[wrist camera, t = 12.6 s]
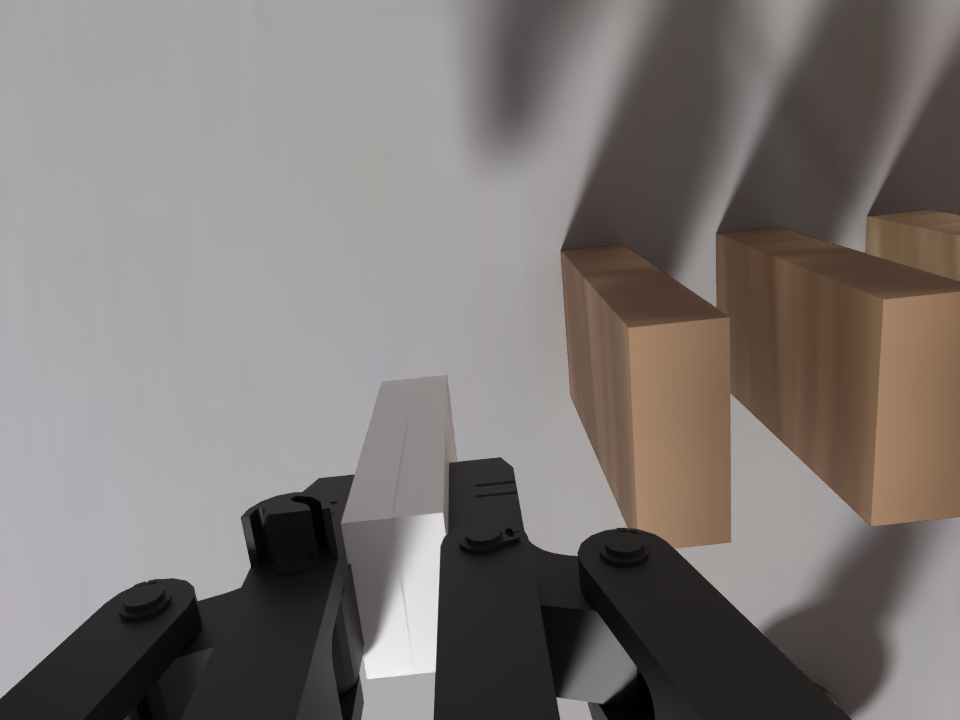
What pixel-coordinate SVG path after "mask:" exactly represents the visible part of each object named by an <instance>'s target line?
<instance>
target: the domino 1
mask: <svg viewBox="0 0 960 720" xmlns="http://www.w3.org/2000/svg"><path fill="white" fill-rule="evenodd" d="M561 264H562V278H563V293H564V307H565V322H566V336H567V351H568V365H569V380H570V395H571V399H572V401H573V403H574V406H575V408H576V410H577V412H578V415H579V417H580V419H581V422H582V424H583V426H584V428H585V431H586V433H587V435H588V438H589V440H590V442H591V445H592V447H593V449H594V451H595V454H596V456H597V458H598V461H599V463H600V465H601V468H602V470H603V472H604V474H605V477H606V479H607V481H608V484H609V486H610V488H611V490H612V493H613V495H614V497H615V500H616V502H617V504H618V507H619V509H620V511H621V513H622V516H623V518H624V520H625V523H626V525H627V527H628V529H630V528H633V529H639V530H643V531H646V532H649V533H653V534H656V535H657V536H659V537H660V538H662V539H664V540H665V541H667V542H668V543H669V544H670V545H671V546H672V547H673V548H683V547H692V546H702V545H711V544H721V543H730V542H731V457H730V317H729V316H727V315H726V314H724V313H723V312H722V311H720V310H719V309H717V308H716V307H714V306H713V305H711V304H710V303H708V302H707V301H705V300H704V299H702V298H701V297H700V296H698V295H697V294H695V293H694V292H692V291H691V290H689V289H688V288H686V287H685V286H683V285H682V284H680V283H679V282H678V281H676V280H675V279H673V278H672V277H670V276H669V275H667V274H666V273H664V272H663V271H661V270H660V269H658V268H657V267H655V266H654V265H653V264H651V263H650V262H648V261H647V260H645V259H644V258H642V257H641V256H639V255H638V254H636V253H635V252H633V251H632V250H631V249H629V248H628V247H626V246H625V245H623V244H618V245H609V246H599V247H590V248H580V249H570V250H561Z"/></svg>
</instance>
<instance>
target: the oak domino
mask: <svg viewBox="0 0 960 720" xmlns="http://www.w3.org/2000/svg"><path fill="white" fill-rule="evenodd" d="M865 253H866V254H870V255H873V256H876V257H880V258H883V259H886V260H890V261H893V262H896V263H900V264H903V265H906V266H910V267H913V268H916V269H920V270H923V271H926V272H930V273H933V274H936V275H940V276H943V277H946V278H950V279H953V280H956V281H960V215H957V214H951V213H945V212H939V211H933V210H922V211H913V212H904V213H894V214H885V215H876V216H867V230H866V252H865Z"/></svg>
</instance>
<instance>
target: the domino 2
mask: <svg viewBox="0 0 960 720" xmlns="http://www.w3.org/2000/svg"><path fill="white" fill-rule="evenodd" d="M716 283H717V309H719V310H720V311H722V312H723V313H724V314H726V315H727V316H729V317H730V393H731V394H732V395H733V396H734V397H735V398H736V399H737V400H738V401H739V402H741V403H742V404H743V405H744V406H745V407H746V408H747V409H748V410H749V411H750V412H751V413H752V414H753V415H754V416H755V417H756V418H757V419H758V420H759V421H761V422H762V423H763V424H764V425H765V426H766V427H767V428H768V429H769V430H770V431H771V432H772V433H773V434H774V435H775V436H776V437H777V438H778V439H779V440H781V441H782V442H783V443H784V444H785V445H786V446H787V447H788V448H789V449H790V450H791V451H792V452H793V453H794V454H795V455H796V456H797V457H798V458H800V459H801V460H802V461H803V462H804V463H805V464H806V465H807V466H808V467H809V468H810V469H811V470H812V471H813V472H814V473H815V474H816V475H817V476H818V477H820V478H821V479H822V480H823V481H824V482H825V483H826V484H827V485H828V486H829V487H830V488H831V489H832V490H833V491H834V492H835V493H836V494H837V495H838V496H840V497H841V498H842V499H843V500H844V501H845V502H846V503H847V504H848V505H849V506H850V507H851V508H852V509H853V510H854V511H855V512H856V513H857V514H858V515H860V516H861V517H862V518H863V519H864V520H865V521H866V522H867V523H868V524H869V525H870V526H879V525H889V524H898V523H907V522H917V521H926V520H936V519H945V518H955V517H960V281H956V280H953V279H950V278H946V277H943V276H940V275H936V274H933V273H930V272H926V271H923V270H920V269H916V268H913V267H910V266H906V265H903V264H900V263H896V262H893V261H890V260H886V259H883V258H880V257H876V256H873V255H870V254H866V253H863V252H860V251H856V250H853V249H850V248H846V247H843V246H840V245H836V244H833V243H829V242H826V241H823V240H819V239H816V238H813V237H809V236H806V235H803V234H799V233H796V232H793V231H789V230H786V229H783V228H779V227H774V228H764V229H754V230H745V231H735V232H726V233H716Z"/></svg>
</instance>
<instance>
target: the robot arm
mask: <svg viewBox="0 0 960 720" xmlns="http://www.w3.org/2000/svg"><path fill="white" fill-rule="evenodd" d="M241 521H242V526H243V530H244V535H245V540H246V545H247V549H248V554H249V559H250V564H251V568H250V570H249V572H248V575H247V577H246V579H245V581H244V583H243V585H242V587H241V588H239V589H236V590H234V591H231V592H228V593H225V594H222V595H218V596H215V597H211V598H208V599H204V600H201V601H197V598H196V594H195V590H194V587H193V586H192V585H191V584H190V583H188V582H187V581H185V580H179V579H174V578H171V579H154V580H149V581H148V582H146V581H145V582H142V583H139V584H136V585H135V586H133V587H132V588H130V589H127V590H125V591H123V592H121V593H119V594H118V595H116V596H115V597H114V598H112V599H111V600H109V601H108V602H107V603H105V604H104V605H103V606H102V607H101V608H100V609H99V610H98V611H96V612H95V613H94V614H93V615H92V616H91V617H90V618H89V619H88V620H87V621H85V622H84V623H83V624H82V625H81V626H80V627H79V628H78V629H77V630H76V631H74V632H73V633H72V634H71V635H70V636H69V637H68V638H67V639H66V640H65V641H64V642H62V643H61V644H60V645H59V646H58V647H57V648H56V649H55V650H54V651H53V652H51V653H50V654H49V655H48V656H47V657H46V658H45V659H44V660H43V661H42V662H40V663H39V664H38V665H37V666H36V667H35V668H34V669H33V670H32V671H31V672H29V673H28V674H27V675H26V676H25V677H24V678H23V679H22V680H21V681H20V682H18V683H17V684H16V685H15V686H14V687H13V688H12V689H11V690H10V691H9V692H7V693H6V694H5V695H4V696H3V697H2V698H1V699H0V720H361V717H362V710H363V704H364V700H363V693H362V686H361V681H360V675H359V671H360V665H361V660H362V654H363V657H364V663H365V669H366V675H367V679H373V678H383V677H392V676H402V675H411V674H421V673H431V672H436V675H435V701H434V720H560V716H559V711H558V705H557V699H556V697H560V698H566V699H573V700H580V701H587V702H588V706H589V709H590V713H591V716H592V719H593V720H851V719H850V718H849V717H848V716H847V715H846V714H845V713H844V712H843V711H842V710H841V709H840V708H839V707H838V706H837V705H836V704H835V703H834V702H833V701H832V700H831V699H830V698H829V697H828V696H826V695H825V694H824V693H823V692H822V691H821V690H820V689H819V688H818V687H817V686H816V685H815V684H814V683H813V682H812V681H811V680H810V679H809V678H808V677H807V676H806V675H805V674H804V673H803V672H802V671H801V670H800V669H798V668H797V667H796V666H795V665H794V664H793V663H792V662H791V661H790V660H789V659H788V658H787V657H786V656H785V655H784V654H783V653H782V652H781V651H780V650H779V649H778V648H777V647H776V646H775V645H774V644H773V643H772V642H770V641H769V640H768V639H767V638H766V637H765V636H764V635H763V634H762V633H761V632H760V631H759V630H758V629H757V628H756V627H755V626H754V625H753V624H752V623H751V622H750V621H749V620H748V619H747V618H746V617H745V616H744V615H742V614H741V613H740V612H739V611H738V610H737V609H736V608H735V607H734V606H733V605H732V604H731V603H730V602H729V601H728V600H727V599H726V598H725V597H724V596H723V595H722V594H721V593H720V592H719V591H718V590H717V589H716V588H714V587H713V586H712V585H711V584H710V583H709V582H708V581H707V580H706V579H705V578H704V577H703V576H702V575H701V574H700V573H699V572H698V571H697V570H696V569H695V568H694V567H693V566H692V565H691V564H690V563H689V562H688V561H686V560H685V559H684V558H683V557H682V556H681V555H680V554H679V553H678V552H677V551H676V550H675V549H674V548H673V547H672V546H671V545H670V544H669V543H668V542H667V541H665V540H664V539H662V538H660V537H659V536H657V535H656V534H653V533H649V532H646V531H643V530H639V529H633V528H630V529H627V528H617V529H613V530H605V531H603V532H600V533H597V534H594V535H592V536H590V537H589V538H588V539H586V540H585V541H584V542H583V543H581V545H580V548H579V551H578V556H569V555H561V554H555V553H551V552H548V551H545V550H542V549H540V548H538V547H536V546H535V545H533V544H532V543H531V542H530V541H529V540H528V536H527V535H526V533H525V531H524V527H523V521H522V515H521V510H520V504H519V498H518V493H517V487H516V482H515V475H514V470H513V467H512V466H511V465H509V464H508V463H507V462H506V461H504V460H503V459H502V458H501V457H499V458H490V459H480V460H471V461H461V462H457V456H456V447H455V439H454V430H453V422H452V413H451V404H450V396H449V387H448V379H447V375H444V376H435V377H425V378H415V379H406V380H396V381H386V382H382V383H381V386H380V390H379V393H378V397H377V400H376V404H375V407H374V410H373V414H372V417H371V421H370V424H369V428H368V431H367V435H366V438H365V442H364V445H363V449H362V452H361V455H360V459H359V462H358V466H357V469H356V473H355V475H346V476H336V477H327V478H319V479H318V480H316V481H315V482H314V483H313V484H312V485H310V486H309V487H308V488H307V489H306V490H304V491H303V492H294V493H289V494H284V495H278V496H275V497H272V498H270V499H267V500H264V501H261V502H260V503H258V504H256V505H255V506H253V507H251V508H249V509H248V510H247V511H246V512H245V513H244V515H243V516H242V517H241Z"/></svg>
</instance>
